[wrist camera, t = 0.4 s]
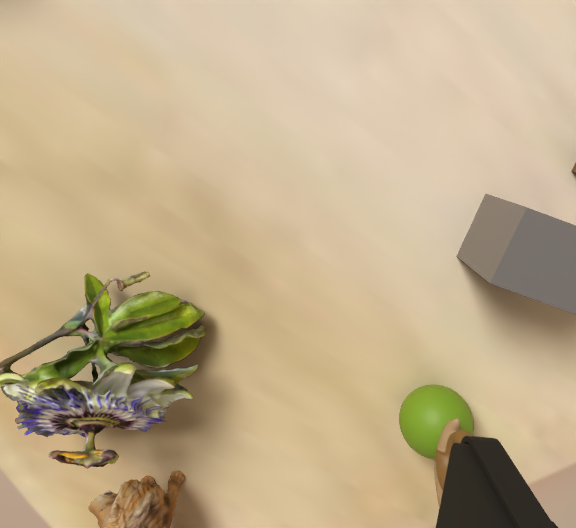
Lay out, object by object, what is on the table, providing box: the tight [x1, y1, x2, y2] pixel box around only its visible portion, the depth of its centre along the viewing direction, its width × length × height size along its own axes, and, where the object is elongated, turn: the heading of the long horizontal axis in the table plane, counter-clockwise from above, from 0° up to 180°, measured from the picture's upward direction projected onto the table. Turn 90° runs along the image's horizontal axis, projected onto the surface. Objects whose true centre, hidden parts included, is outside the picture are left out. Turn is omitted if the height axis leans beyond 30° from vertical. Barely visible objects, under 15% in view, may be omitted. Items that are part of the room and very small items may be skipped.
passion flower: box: [0, 272, 205, 469], centre depth 36 cm, size 13×12×14 cm
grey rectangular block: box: [457, 194, 576, 315], centre depth 34 cm, size 5×7×7 cm
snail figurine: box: [399, 385, 474, 507], centre depth 35 cm, size 5×6×12 cm
